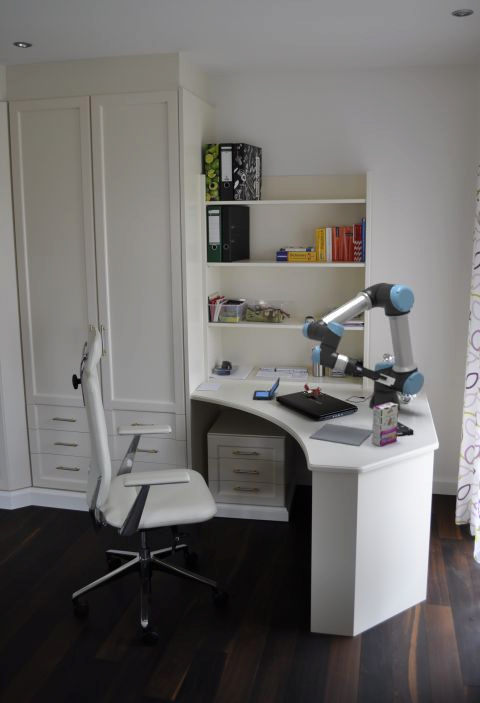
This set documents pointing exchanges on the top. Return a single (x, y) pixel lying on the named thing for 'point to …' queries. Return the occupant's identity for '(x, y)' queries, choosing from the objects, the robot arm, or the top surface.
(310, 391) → the figurine
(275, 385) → the handheld game console
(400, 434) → the disk drive
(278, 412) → the top surface
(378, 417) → the candy bar box
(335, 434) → the slate mat
